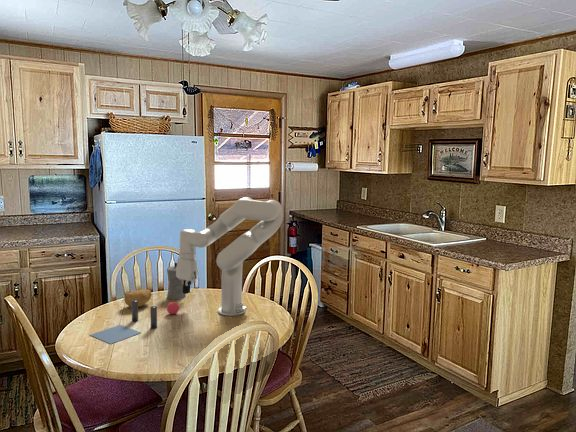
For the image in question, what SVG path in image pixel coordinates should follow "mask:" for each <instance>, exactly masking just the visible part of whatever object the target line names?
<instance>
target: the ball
mask: <svg viewBox="0 0 576 432" xmlns="http://www.w3.org/2000/svg"><path fill="white" fill-rule="evenodd" d="M166 306H167V307H166V311H167V313H168V314H171V315H176V314H177V313H178V312H179V311H180V305H179V304H178V303H177V302H174V301H171V302H169V303H168V304H167V305H166Z"/></svg>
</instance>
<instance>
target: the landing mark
mask: <svg viewBox="0 0 576 432" xmlns="http://www.w3.org/2000/svg"><path fill="white" fill-rule="evenodd" d="M140 334H142V332H141V331H137V330H135V329H133V328H129V327H127V326H125V325H122V324H118V325H115V326H112V327H109V328H106V329H104V330H100V331H97V332H95V333H91V334H89V336H91V337H93V338H95V339H97V340H99V341H102V342H105V343H106V344H109V345H112V344H115V343H118V342H121V341H123V340H127V339H129V338H131V337H134V336H137V335H140Z"/></svg>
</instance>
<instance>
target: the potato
mask: <svg viewBox="0 0 576 432" xmlns="http://www.w3.org/2000/svg"><path fill="white" fill-rule="evenodd" d="M151 298H152V291H151V290H150V289H147V288H146V289H145V288H143V289H142V288H141V289H137V290H133V291H130V292H126V294H125V295H124V298H123V300H124V303H125V304H126V306H127V307H131V308H132V301H133V300H138V308H141V307H143V306H145V305H146V304H147V303H148V302H149V301H150V299H151Z"/></svg>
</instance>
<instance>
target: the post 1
mask: <svg viewBox="0 0 576 432" xmlns="http://www.w3.org/2000/svg"><path fill="white" fill-rule="evenodd" d="M131 322H134V323H137V322H139V307H138V300H133V301H132V307H131Z"/></svg>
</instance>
